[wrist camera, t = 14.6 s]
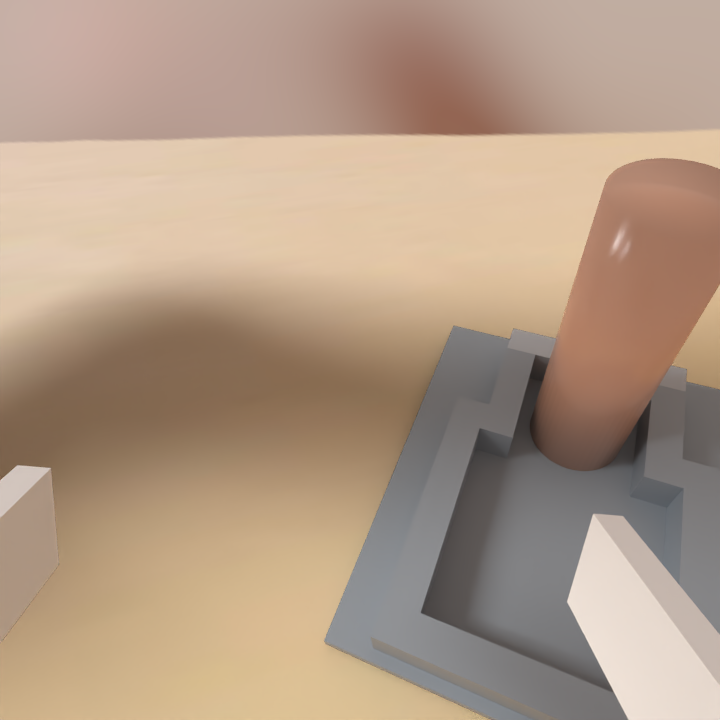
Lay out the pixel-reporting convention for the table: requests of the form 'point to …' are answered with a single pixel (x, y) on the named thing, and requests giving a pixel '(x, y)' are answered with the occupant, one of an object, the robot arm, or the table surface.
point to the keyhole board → (521, 535)
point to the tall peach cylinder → (629, 307)
